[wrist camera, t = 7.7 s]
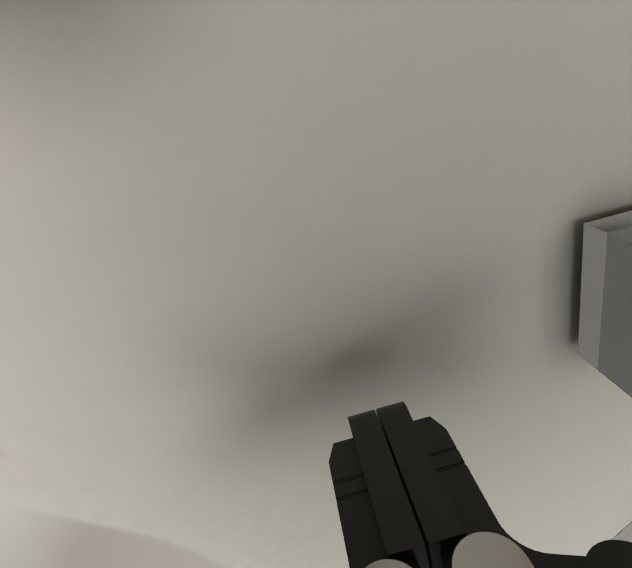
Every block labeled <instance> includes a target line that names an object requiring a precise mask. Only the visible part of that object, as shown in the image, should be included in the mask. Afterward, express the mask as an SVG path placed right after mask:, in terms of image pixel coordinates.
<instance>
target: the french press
mask: <svg viewBox="0 0 632 568" xmlns="http://www.w3.org/2000/svg"><path fill="white" fill-rule="evenodd" d="M612 540H623V541H628V542H632V522H631V523H630V524H629V525H628V526H627V527H626V528H624V529H623V530H622V531H621V532H620V533H619V534H618V535H617V536H615V537H614V538H613V539H612Z"/></svg>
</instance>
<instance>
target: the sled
mask: <svg viewBox="0 0 632 568" xmlns="http://www.w3.org/2000/svg"><path fill="white" fill-rule="evenodd" d="M578 355H580V356H581V357H582V358H583V359H585V360H586V361H587V362H588V363H590V364H591V365H592V366H593V367H595V368H596V369H597V370H598V371H600V372H601V373H602V374H603V375H605V376H606V377H607V378H608V379H609V380H611V381H612V382H613V383H614V384H616V385H617V386H618V387H619V388H621V389H622V390H623V391H624V392H626V393H627V394H628V395H629V396H631V397H632V210H631V211H627V212H623V213H620V214H616V215H612V216H609V217H605V218H602V219H598V220H594V221H591V222H587V223H584V232H583V253H582V275H581V296H580V318H579V339H578Z"/></svg>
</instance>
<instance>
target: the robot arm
mask: <svg viewBox="0 0 632 568" xmlns="http://www.w3.org/2000/svg"><path fill="white" fill-rule="evenodd" d="M376 411H377V415H376V412H375V410H371V411H368V412H364V413H361V414H357V415H354V416H350V417H348V420H349V424H350V427H351V431H352V435H353V438H351V439H348V440H344V441H341V442H337V443H334V444H333V448H332V452H331V456H330V460H329V465H330V470H331V475H332V480H333V485H334V490H335V496H336V500H337V506H338V511H339V516H340V521H341V526H342V531H343V536H344V541H345V546H346V551H347V556H348V561H349V567H350V568H632V542H628V541H623V540H606V541H602V542H600V543H597V544H596V545H594V546H593V547H592V548H591V549H590V550H589V552H588V553H587V555H586V556H573V555H559V554H548V553H542V552H538V551H534V550H532V549H530V548H527V547H525V546H523V545H522V544H520V543H518V542H517V541H515V540H514V539H513V538H512V537H510V536H509V535H508V534H507V533H506V532H505V531H504V529H503V528H502V527H501V525H500V524H499V522H498V521H497V519H496V517H495V515H494V514H493V512H492V510H491V508H490V507H489V505H488V503H487V501H486V499H485V498H484V496H483V494H482V492H481V490H480V489H479V487H478V485H477V483H476V482H475V480H474V478H473V476H472V474H471V473H470V471H469V469H468V467H467V465H465V463H464V460H463V458H462V457H461V455H460V453H459V451H458V450H457V449H456V446H455V444H454V442H453V440H452V439H451V437H450V435H449V433H448V432H447V430H446V429H445V428H444V427H443V426H442V425H440V424H439V423H438V422H436V421H435V420H434V419H433V418H431V417H430V416H429V417H426V418H422V419H419V420H415V421H413V420H412V417H411V415H410V413H409V411H408V409H407V407H406V405H405V403H404V402H400V403H396V404H392V405H389V406H385V407H382V408H378V409H376ZM377 416H378V417H377Z"/></svg>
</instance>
